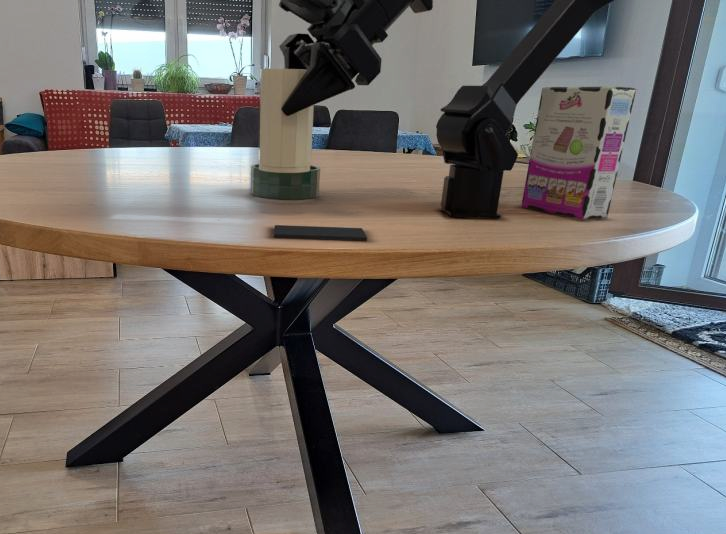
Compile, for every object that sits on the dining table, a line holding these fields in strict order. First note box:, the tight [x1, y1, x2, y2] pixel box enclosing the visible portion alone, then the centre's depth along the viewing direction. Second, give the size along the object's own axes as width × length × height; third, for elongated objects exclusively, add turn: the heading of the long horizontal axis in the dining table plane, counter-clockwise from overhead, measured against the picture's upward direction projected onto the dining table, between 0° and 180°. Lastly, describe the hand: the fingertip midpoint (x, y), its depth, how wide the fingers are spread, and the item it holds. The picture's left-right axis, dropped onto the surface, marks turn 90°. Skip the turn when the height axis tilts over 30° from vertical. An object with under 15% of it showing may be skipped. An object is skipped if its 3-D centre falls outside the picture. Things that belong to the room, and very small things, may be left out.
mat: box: [273, 224, 368, 242], centre depth 71 cm, size 10×5×1 cm, turn 88°
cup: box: [258, 68, 315, 173], centre depth 74 cm, size 6×6×11 cm
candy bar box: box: [520, 86, 637, 221], centre depth 86 cm, size 11×5×16 cm, turn 25°
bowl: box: [249, 163, 321, 201], centre depth 93 cm, size 10×10×4 cm
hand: (274, 111), depth 73 cm, fingers closed on cup, 6 cm apart
